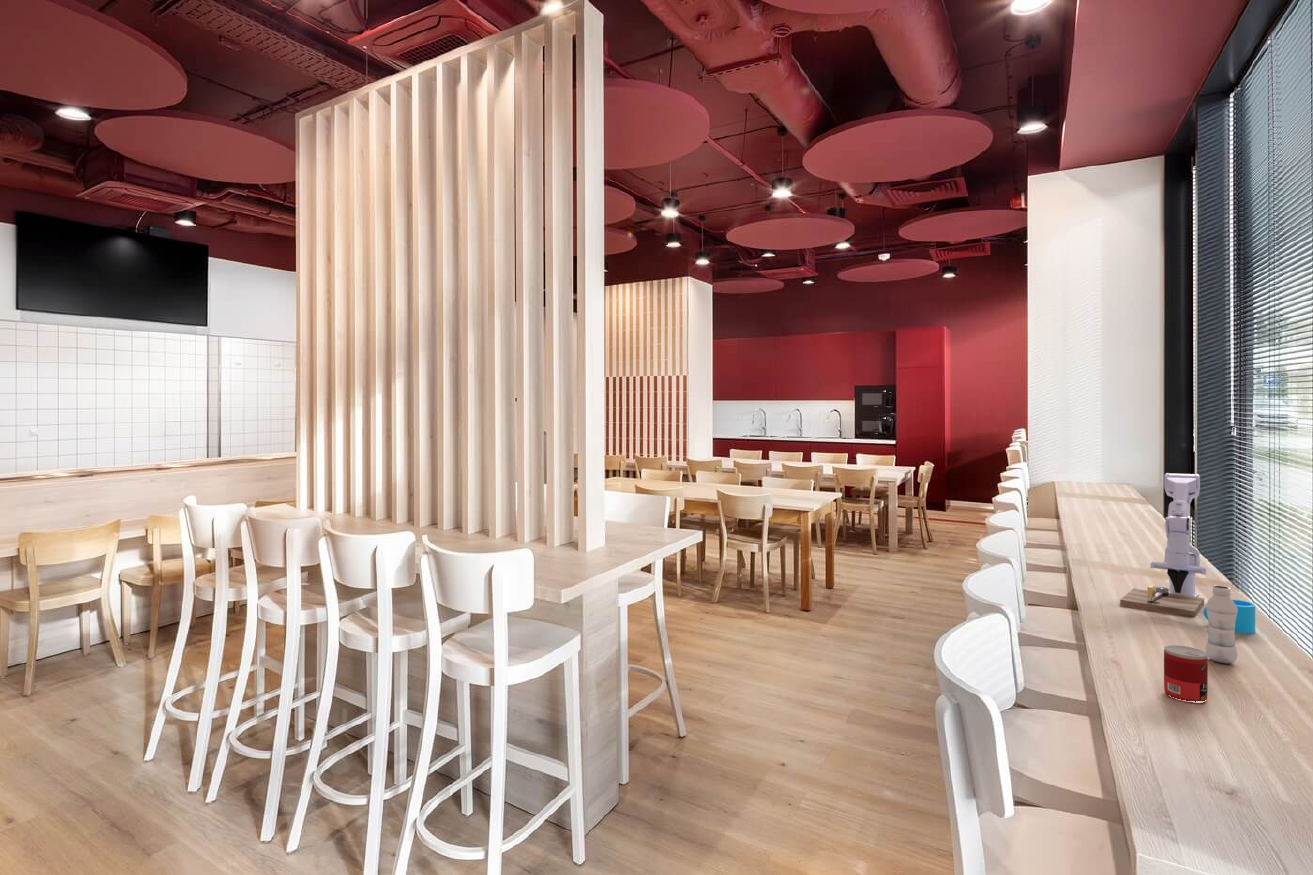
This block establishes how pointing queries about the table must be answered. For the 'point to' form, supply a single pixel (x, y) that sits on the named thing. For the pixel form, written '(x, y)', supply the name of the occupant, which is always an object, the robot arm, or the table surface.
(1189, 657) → the canned food
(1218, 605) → the plastic bottle
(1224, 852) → the table surface
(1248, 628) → the mug
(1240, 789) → the table surface
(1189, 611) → the hole plate
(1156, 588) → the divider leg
